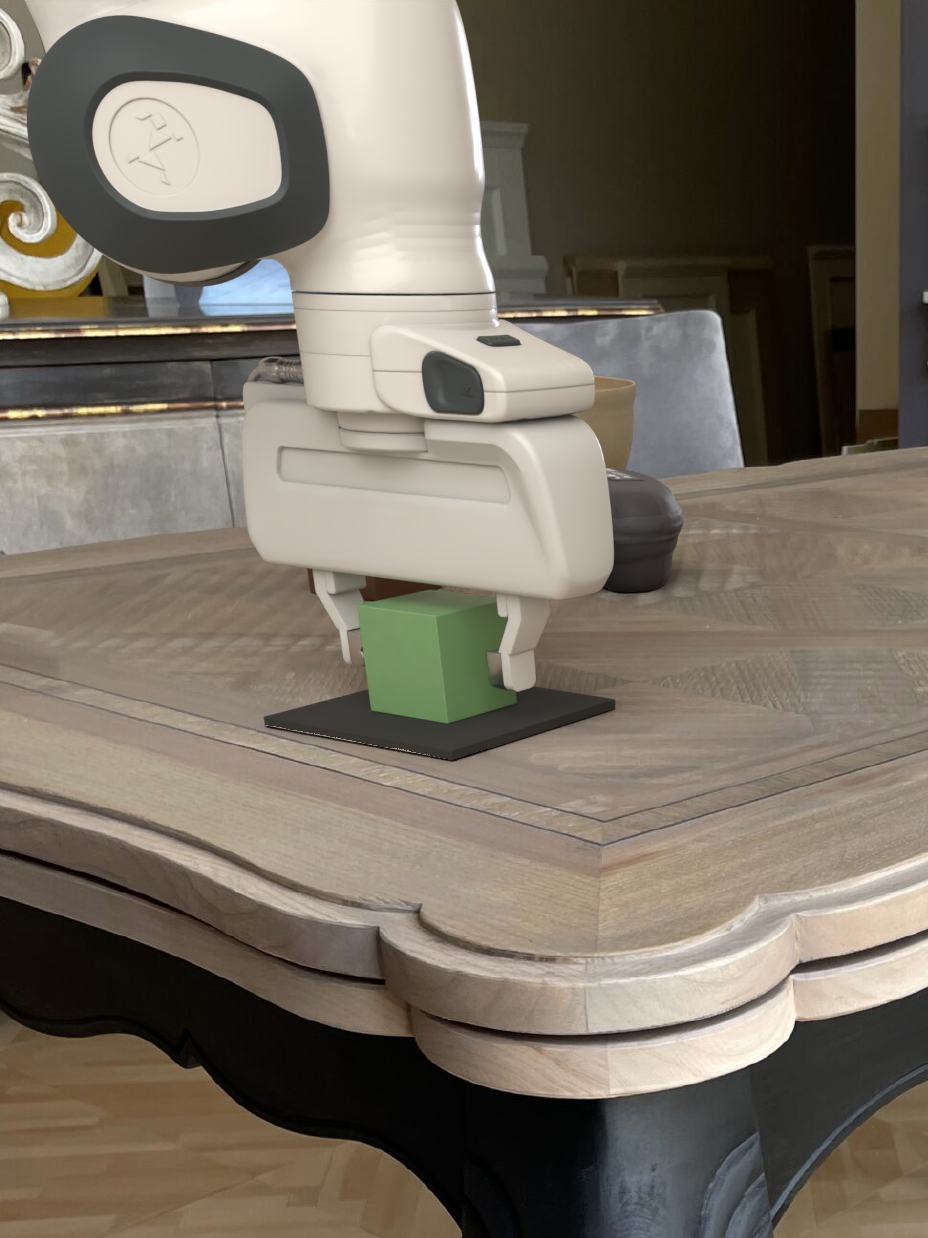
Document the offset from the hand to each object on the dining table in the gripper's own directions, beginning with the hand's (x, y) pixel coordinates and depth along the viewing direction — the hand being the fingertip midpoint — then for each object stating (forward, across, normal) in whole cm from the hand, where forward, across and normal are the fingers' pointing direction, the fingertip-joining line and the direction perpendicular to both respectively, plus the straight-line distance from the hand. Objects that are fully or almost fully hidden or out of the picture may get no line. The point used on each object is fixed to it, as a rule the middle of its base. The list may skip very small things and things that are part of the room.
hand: (438, 676), depth 88 cm
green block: (+2, 0, 0) cm, 2 cm away
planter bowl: (+2, -35, +49) cm, 60 cm away
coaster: (+2, 0, 0) cm, 2 cm away
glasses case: (+2, -19, +37) cm, 42 cm away
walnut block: (+2, -28, +24) cm, 37 cm away
